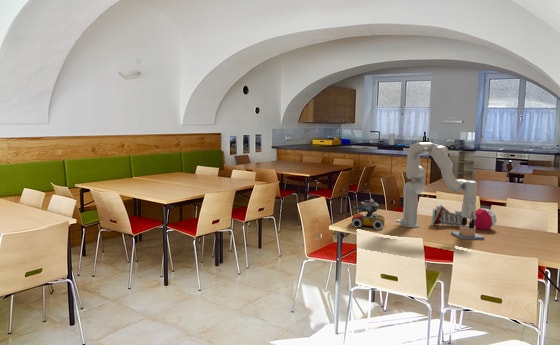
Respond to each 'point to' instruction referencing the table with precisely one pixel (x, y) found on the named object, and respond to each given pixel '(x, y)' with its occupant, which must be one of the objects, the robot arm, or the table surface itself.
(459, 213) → the decorative sign
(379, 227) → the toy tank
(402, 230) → the table surface
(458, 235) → the post stand
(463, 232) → the collar
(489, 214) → the decorative object
